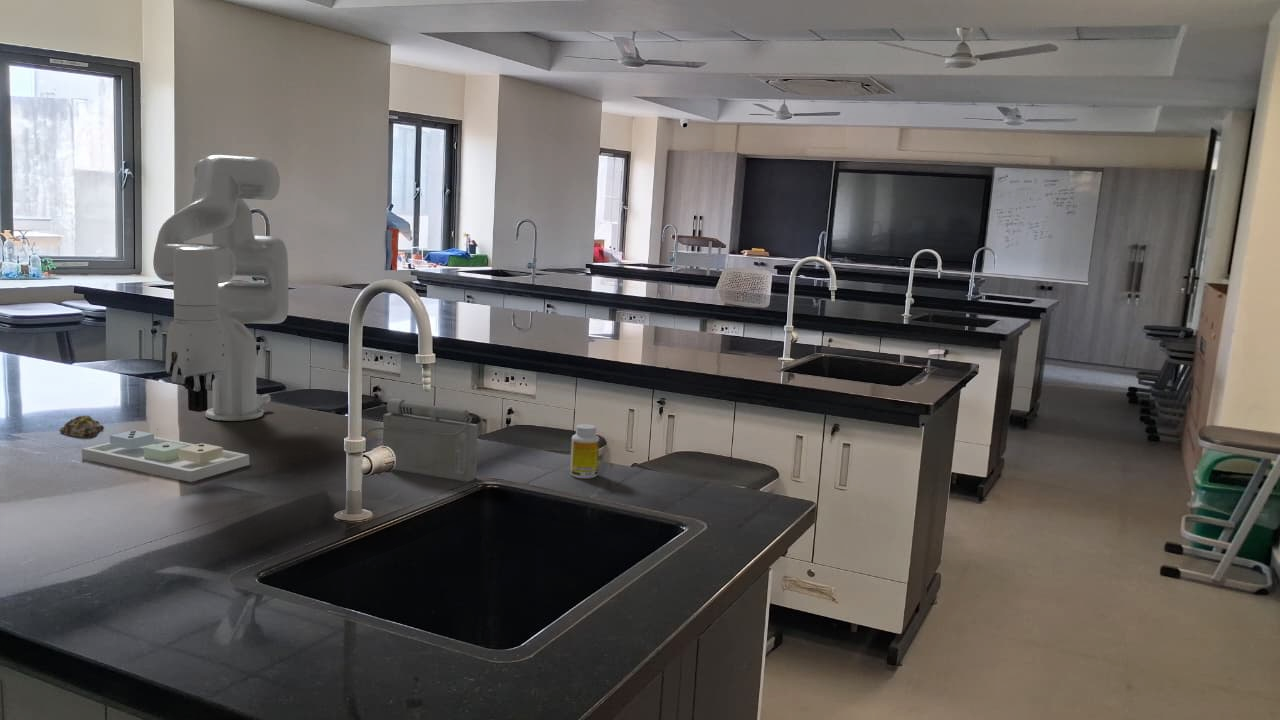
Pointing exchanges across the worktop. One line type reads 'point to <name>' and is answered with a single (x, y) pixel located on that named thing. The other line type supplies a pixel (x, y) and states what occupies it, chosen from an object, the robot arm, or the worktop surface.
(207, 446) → the key two dots
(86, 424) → the mineral rock
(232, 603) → the worktop surface
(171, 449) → the key one dot
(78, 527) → the worktop surface
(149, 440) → the key three dots
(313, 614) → the worktop surface
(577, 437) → the supplement bottle
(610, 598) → the worktop surface
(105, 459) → the key panel
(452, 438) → the geiger counter
